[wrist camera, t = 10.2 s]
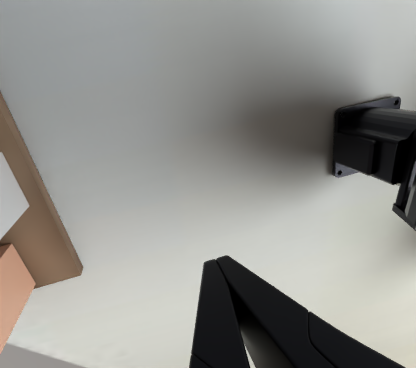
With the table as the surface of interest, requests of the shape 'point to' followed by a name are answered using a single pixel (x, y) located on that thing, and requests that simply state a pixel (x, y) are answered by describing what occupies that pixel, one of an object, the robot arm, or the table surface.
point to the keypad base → (35, 215)
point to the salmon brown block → (12, 290)
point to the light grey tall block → (9, 198)
